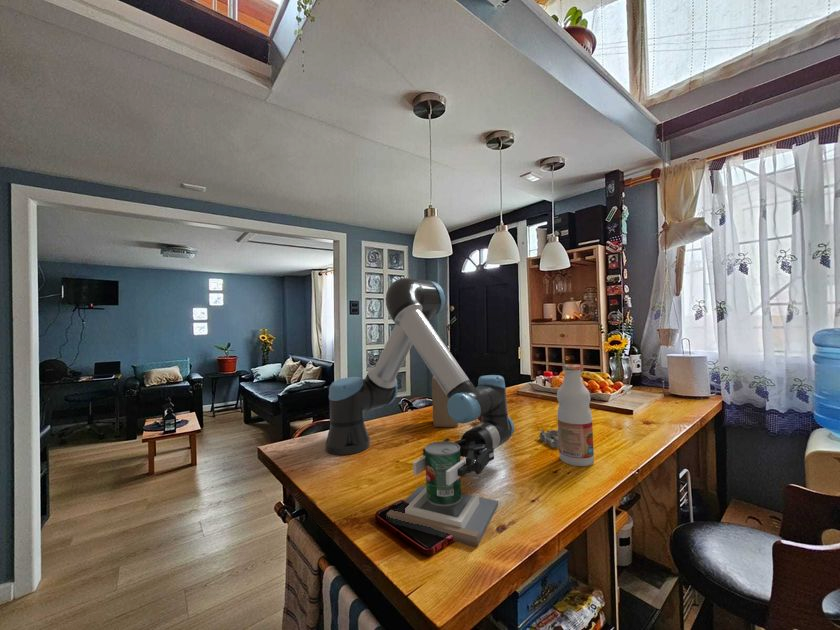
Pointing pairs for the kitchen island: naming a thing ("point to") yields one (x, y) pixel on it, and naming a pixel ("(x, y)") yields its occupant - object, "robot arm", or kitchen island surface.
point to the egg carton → (548, 440)
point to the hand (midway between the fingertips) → (430, 473)
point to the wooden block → (440, 407)
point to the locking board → (450, 515)
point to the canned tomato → (442, 473)
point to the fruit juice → (574, 419)
